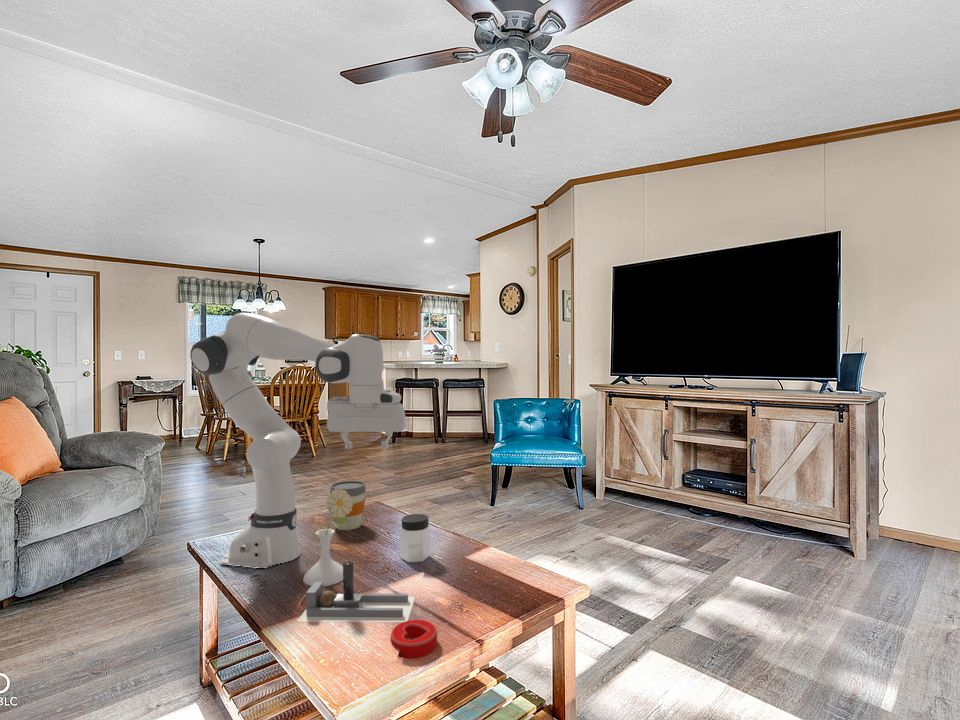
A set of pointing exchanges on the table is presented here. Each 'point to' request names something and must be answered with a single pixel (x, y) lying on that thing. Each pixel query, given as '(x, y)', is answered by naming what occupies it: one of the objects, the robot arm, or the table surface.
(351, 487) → the reusable coffee cup
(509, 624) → the table surface
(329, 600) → the brown ball
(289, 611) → the table surface
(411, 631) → the decorative ornament
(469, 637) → the table surface
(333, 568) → the flower in vase
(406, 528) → the jar
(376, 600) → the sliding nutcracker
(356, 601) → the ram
